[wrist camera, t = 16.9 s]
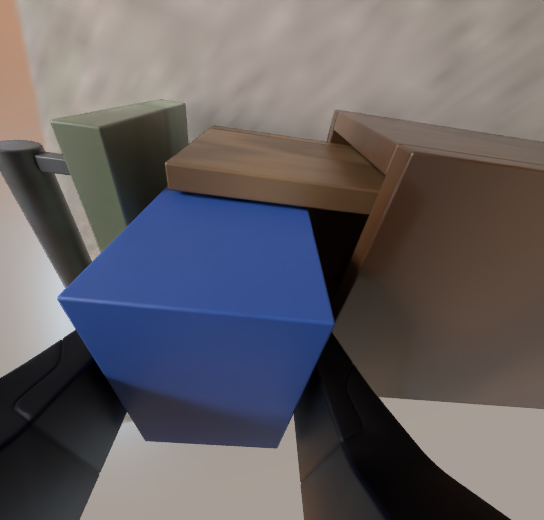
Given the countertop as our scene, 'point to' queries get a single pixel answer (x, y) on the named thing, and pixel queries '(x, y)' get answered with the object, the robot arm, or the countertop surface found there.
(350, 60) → the countertop surface
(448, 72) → the countertop surface
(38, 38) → the countertop surface
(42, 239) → the drawer
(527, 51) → the countertop surface
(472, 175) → the cabinet
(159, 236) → the block
